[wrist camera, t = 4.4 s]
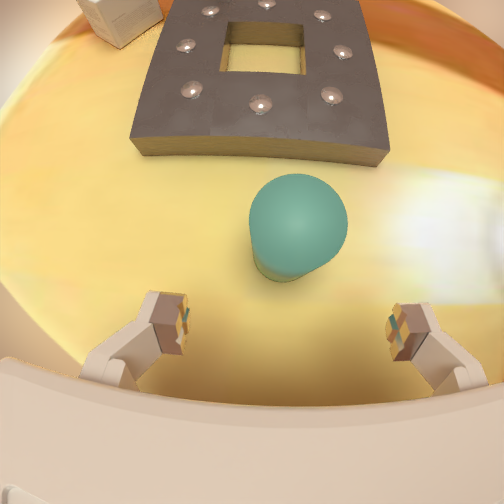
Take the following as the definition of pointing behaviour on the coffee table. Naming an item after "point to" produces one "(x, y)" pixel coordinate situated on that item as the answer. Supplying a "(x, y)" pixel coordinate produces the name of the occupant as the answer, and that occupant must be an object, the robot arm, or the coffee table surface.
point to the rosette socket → (263, 84)
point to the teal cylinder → (296, 226)
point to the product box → (121, 18)
